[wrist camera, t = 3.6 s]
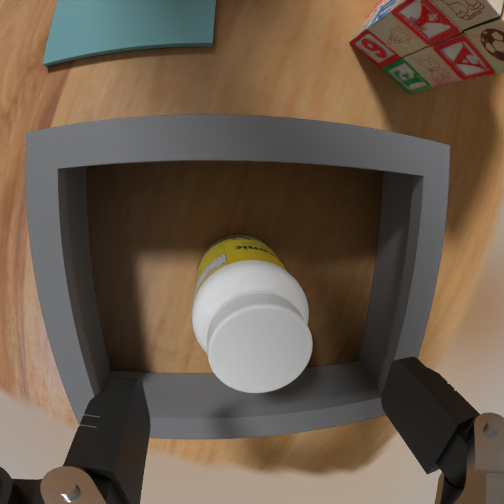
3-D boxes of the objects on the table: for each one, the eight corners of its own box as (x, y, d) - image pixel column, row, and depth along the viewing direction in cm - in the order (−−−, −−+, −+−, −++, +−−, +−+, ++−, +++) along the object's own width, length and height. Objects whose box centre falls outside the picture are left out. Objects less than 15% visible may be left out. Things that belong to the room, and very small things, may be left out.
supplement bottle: (295, 267, 21) (357, 340, 11) (242, 324, 21) (265, 424, 12) (233, 215, 19) (255, 256, 10) (180, 278, 20) (158, 364, 11)
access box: (102, 379, 21) (81, 429, 15) (73, 140, 17) (26, 132, 11) (366, 368, 24) (398, 411, 18) (395, 148, 20) (450, 145, 14)
